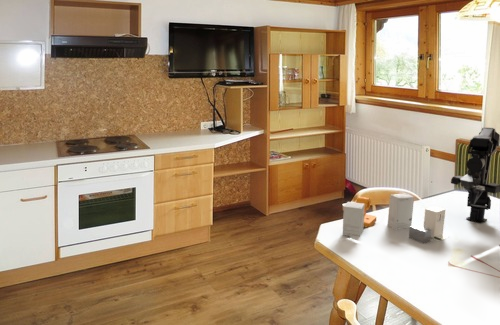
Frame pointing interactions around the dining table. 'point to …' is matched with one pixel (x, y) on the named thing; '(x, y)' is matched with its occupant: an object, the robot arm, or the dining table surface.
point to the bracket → (368, 219)
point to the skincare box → (400, 211)
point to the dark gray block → (420, 234)
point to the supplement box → (353, 218)
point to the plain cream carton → (434, 221)
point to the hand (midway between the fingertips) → (473, 204)
